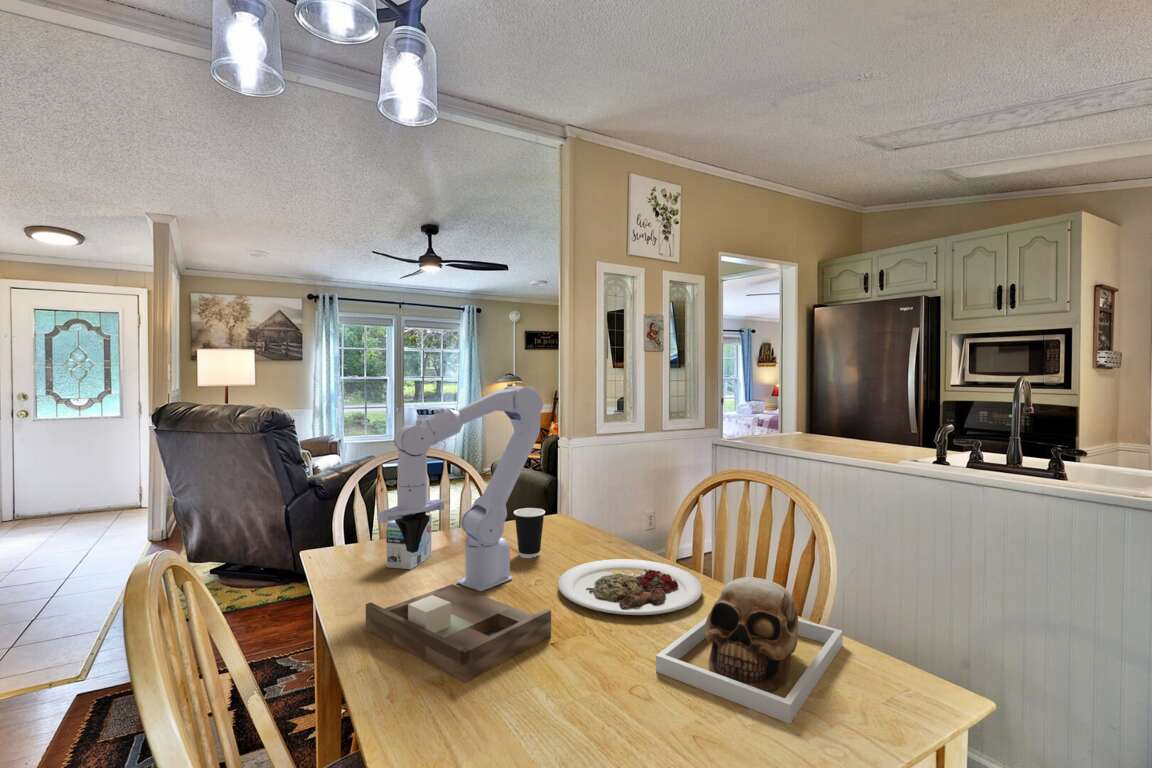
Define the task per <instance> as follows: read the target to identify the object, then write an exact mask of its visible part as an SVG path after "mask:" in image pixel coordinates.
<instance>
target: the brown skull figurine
mask: <svg viewBox="0 0 1152 768" xmlns="http://www.w3.org/2000/svg"><path fill="white" fill-rule="evenodd" d="M708 613H709V614H708V615H707V616H708V618H707V620H706V622H705V637H706V638H705V639H706V641H708V642H709V643H711V648H710V654H709V658H708V671H711V672H714V673H716V674H719V675H722V676H725V677H727V678H730V679H733V680H735V681H738V682H741V683H744V684H746V685H749V686H752V687H755V688H757V689H760V690H763V691H766V692H768V693H771V691H773V690H776V689H779V687H780V686H783V685H785V684H786V683H787V681H788V680H789V676H790V670H791V669H790V667H791V661H792V658H791V657H792V654H793V653H795V650H796V648H797V645H798V636H799V635H798V619H799V615H798V609H797V605H796V601H795V599H794V597H793V595H792V594H791V593H790V592H789V591H788V590H787V589H786V588H785V587H784V586H782V585H781V584H779V583H776V582H774V581H771V580H768V579H765V578H760V577H753V576H744V577H740V578H739V577H738V578H735V579H733V580H731V581H729V582H727V583H726V584H724V586H723V588H722V589H721V594H720V596H719V597H718V599H717V601H715V603H714V604H713V606H712V607H711V610H710V612H708Z"/></svg>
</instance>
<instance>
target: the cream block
mask: <svg viewBox="0 0 1152 768" xmlns="http://www.w3.org/2000/svg"><path fill="white" fill-rule="evenodd" d="M408 620H409V621H411V622H413V623H415V624H417V625H419V626H421V627H423V628H425V629H427V630H430V631H432V632H434V633H436V632H438V631H440V630H443V629H445V628H447V627H449V626H451V602H449V601H446V600H444V599H441V598H439V597H436V596H434V595H432V596H429V597H426V598H424V599H421V600H418V601H416V602H413V603H410V604H408Z"/></svg>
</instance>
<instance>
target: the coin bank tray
mask: <svg viewBox="0 0 1152 768" xmlns="http://www.w3.org/2000/svg"><path fill="white" fill-rule="evenodd" d="M707 618H708V615H707V616H706V617H705V618H703V619H701V620H700V622H698V623H696V624H695V625H694V626H693V627H691V628H690V629H689V630H687V631H686V632H685V633H684V634H682V635H681V636H680V637H678V638H677V639H676V640H674V641H673V642H672V643H670V644H668V646H666V647H665V648H663V649H662V650H661V651H660V652H659V653H657V654H656V655H655V672H656V673H658V674H661V675H664V676H666V677H669V678H672V679H674V680H676V681H679V682H681V683H684V684H687V685H689V686H692V687H694V688H696V689H699V690H702V691H705V692H707V693H710V694H711V695H715V696H718V697H720V698H722V699H725V700H727V701H730V702H733V703H735V704H738V705H741V706H743V707H745V708H749V709H751V710H754V711H756V712H759V713H760V714H763V715H766V716H769V717H771V718H774V719H776V720H779V721H781V722H783V723H787V724H788V725H791V724H792V722H793V720H794V719H795V717H796V716H797V714H798V713H799V712H800V710H801V709H802V707H803V706H804V705H805V702H806V701H807V699H808V698H809V697H810V695H811V694H812V692H813V691H814V689H815V687H817V684H818V683H819V681H820V680H821V678H822V677H823V675H824V674H825V672H826V671H827V669H828V668H829V667H830V665H831V663H832V662H833V661H834V659H835V657H836V656H837V654H839V651H840V650H841V649H842V646H843V630H841V629H838V628H834V627H831V626H827V625H824V624H819V623H816V622H812V621H808V620H804V619H802V618H798V636H799V637H802V638H806V639H809V640H813V641H816V642H820V643H823V644H824V645H823V646H822V648H821V649H820V650H819V652H818V653H817V654H816V656H815V657H814V659H813V660H812V661H811V662H810V664H809V665H808V666H807V668H806V669H805V671H804V672H803V673H802V675H801V676H800V677H799V679H798V680H797V681H796V683H795V685H793V687H792V688H791V690H790V691H789V692H788V694H787V695H786V697H785V698H784V697H781V696H779V695H777V694H773V693H771V692H766V691H763V690H760V689H757V688H755V687H752V686H749V685H746V684H744V683H741V682H738V681H735V680H733V679H730V678H727V677H725V676H722V675H719V674H716V673H714V672H711V671H709V669H705V668H702V667H699V666H697V665H694V664H691V663H688V662H686V661H683V660H681V659H682V657H684V656H686V654H687V653H689V652H690V651H691V650H692V649H693V648H695V647H696V646H697V645H699V644H700V643H701V642H702V641H703V640H705V639H706V637H705V622H706V620H707Z"/></svg>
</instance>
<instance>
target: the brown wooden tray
mask: <svg viewBox="0 0 1152 768" xmlns="http://www.w3.org/2000/svg"><path fill="white" fill-rule="evenodd" d="M432 595H434V596H436V597H439V598H441V599H444V600H446V601H449V602H451V626H449V627H447V628H445V629H443V630H440V631H438V632H436V633H434V632H432V631H430V630H427V629H425V628H423V627H421V626H419V625H417V624H415V623H413V622H411V621H409V620H408V604H410V603H413V602H416V601H418V600H421V599H424V598H426V597H429V596H432ZM365 630H366V631H367V632H370V633H372V634H373V635H375V636H377V637H379V638H380V639H383V640H384V641H386V642H388V643H390V644H392V645H393V646H395V647H397V648H400V649H401V650H403V651H405V652H407V653H408V654H410V655H413V656H414V657H416V658H417V659H419V660H421V661H424V662H425V663H426V664H429V665H431V666H432V667H434V668H436V669H438V670H440V671H441V672H443V673H446V674H447V675H449V676H450V677H453V679H456V680H458V681H459V682H462V683H463V684H466V683H467V682H470V681H471V680H474V679H476V678H477V677H479V676H480V675H482V674H484V673H486V672H488V671H490V670H492V669H493V668H495V667H497V666H499V665H501V664H502V663H505V662H506V661H508V660H510V659H511V658H512V659H513V658H514V657H515V656H517V655H519V654H521V653H523V652H524V651H526V650H529V649H530V648H531V647H533V646H536V645H538V644H539V643H541V642H543V641H544V640H546V639H549V638H550V637H551V636H552V609H549V608H545V609H543V610H541V611H539V612H537V613H535V614H532V613H529V612H526V611H525V610H521V609H518V608H516V607H513V606H512V605H508V604H505V603H503V602H500V601H498V600H495V599H492V598H489V597H487V596H484V595H482V594H479V593H476V592H473V591H472V590H468V589H466V588H463V587H460V586H458V585H455V584H449V585H446V586H444V587H440V588H438V589H435V590H432V591H430V592H427V593H424V594H421V595H418V596H416V597H412V598H410V599H408V600H407V599H406V600H404V601H402V602H400V603H396V604H394V605H390V606H387V607H385V608H384V607H382V606H379V605H378V604H375V603H373V602H371V601H370V602H367V603H365Z"/></svg>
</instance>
